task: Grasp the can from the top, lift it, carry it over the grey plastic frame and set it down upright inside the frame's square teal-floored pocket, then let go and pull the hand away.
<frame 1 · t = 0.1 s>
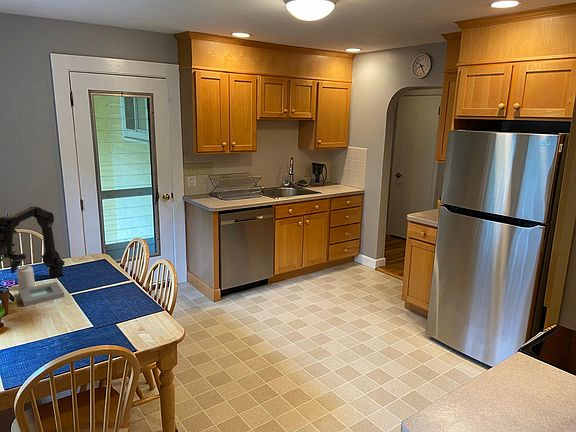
hand: (4, 272, 208), 15 cm above the table, tool pointing down, fingers open, 9 cm apart
pocket frame: (41, 295, 218), on the table
can: (27, 287, 228), on the table
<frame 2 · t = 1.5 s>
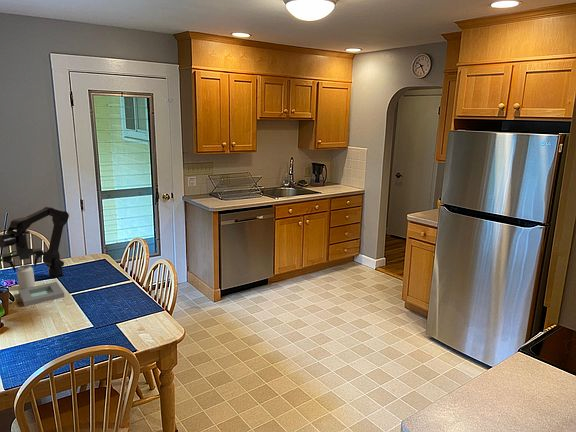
hand: (25, 269, 226), 10 cm above the table, tool pointing down, fingers open, 9 cm apart
nothing on the table moved.
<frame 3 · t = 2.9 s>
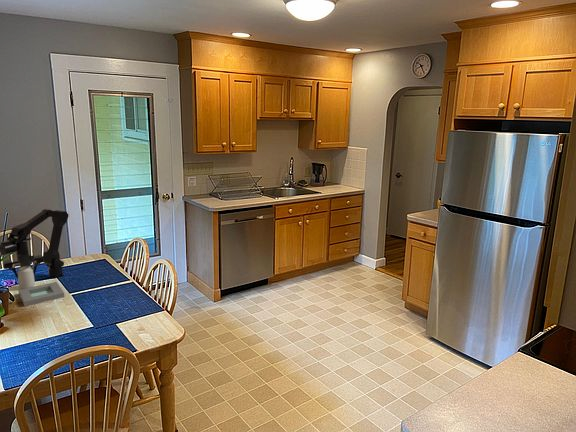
hand: (25, 276, 227), 6 cm above the table, tool pointing down, fingers closed on can, 7 cm apart
can: (27, 287, 228), on the table, touching gripper
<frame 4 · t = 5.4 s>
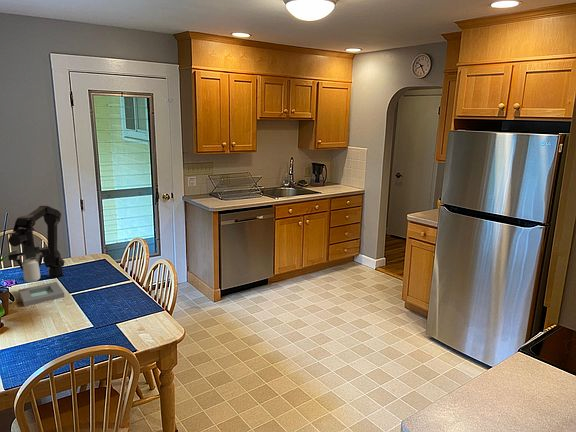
hand: (31, 268, 220), 13 cm above the table, tool pointing down, fingers closed on can, 7 cm apart
can: (32, 280, 221), point 7 cm above the table, touching gripper
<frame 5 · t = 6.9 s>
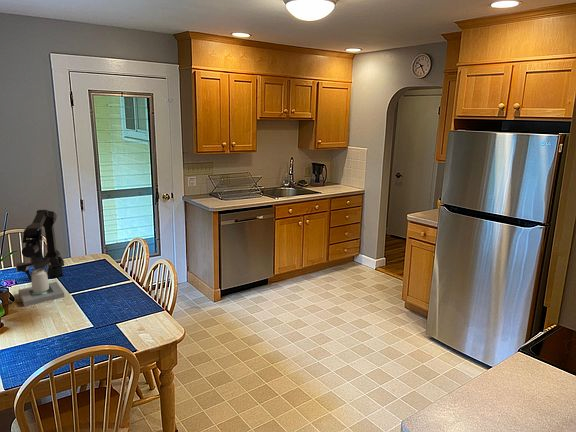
hand: (39, 279, 216), 9 cm above the table, tool pointing down, fingers closed on can, 7 cm apart
can: (41, 291, 218), point 2 cm above the table, touching gripper
when the fingers open (8 cm above the table, at t = 8.2 s): can stays where it is, resting on pocket frame.
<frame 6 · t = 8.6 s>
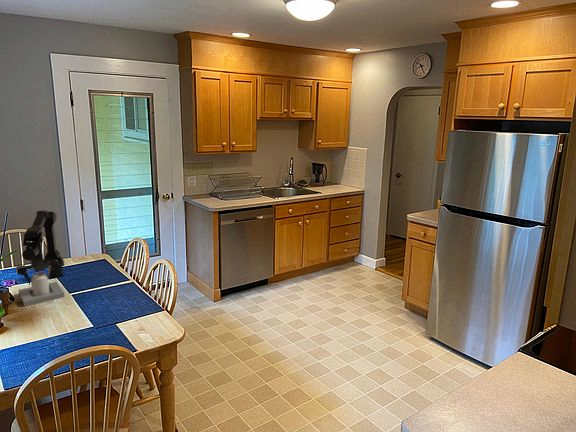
hand: (39, 281, 216), 8 cm above the table, tool pointing down, fingers open, 9 cm apart
can: (41, 295, 218), resting on pocket frame
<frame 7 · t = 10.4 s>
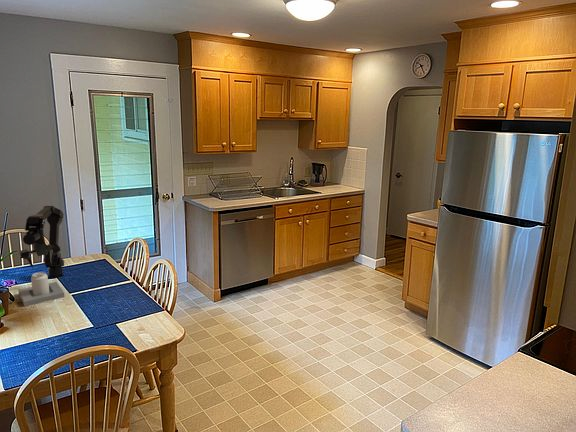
hand: (42, 265, 225), 13 cm above the table, tool pointing down, fingers open, 9 cm apart
nothing on the table moved.
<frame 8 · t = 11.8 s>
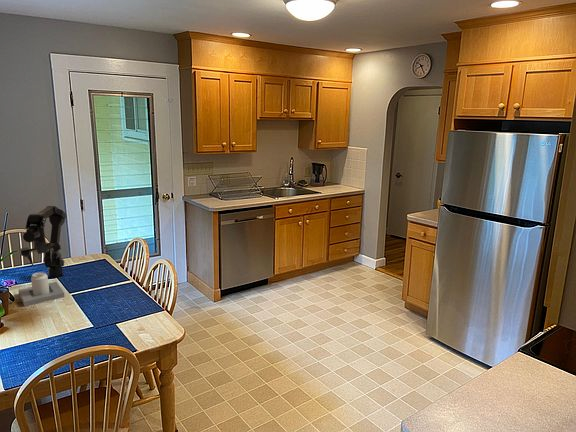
hand: (42, 263, 227), 13 cm above the table, tool pointing down, fingers open, 9 cm apart
nothing on the table moved.
at the end: can 0.1 cm off-centre on the pocket frame, point 0.0 cm above the pocket frame's base; can tilted 0°; the gripper is holding nothing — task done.
